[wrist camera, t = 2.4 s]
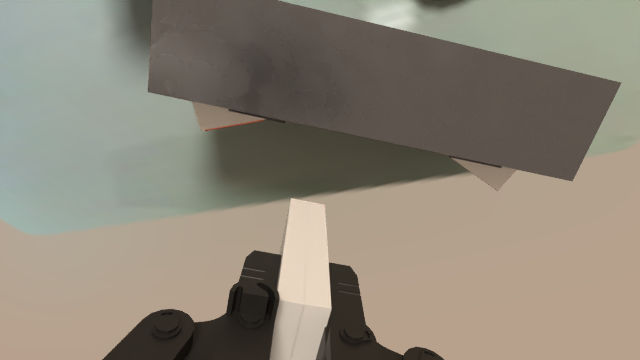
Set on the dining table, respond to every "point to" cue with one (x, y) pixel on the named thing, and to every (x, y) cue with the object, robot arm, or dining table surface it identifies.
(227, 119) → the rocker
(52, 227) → the dining table surface
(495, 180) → the rocker
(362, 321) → the robot arm
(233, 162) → the dining table surface
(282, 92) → the grey panel with openings
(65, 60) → the dining table surface
